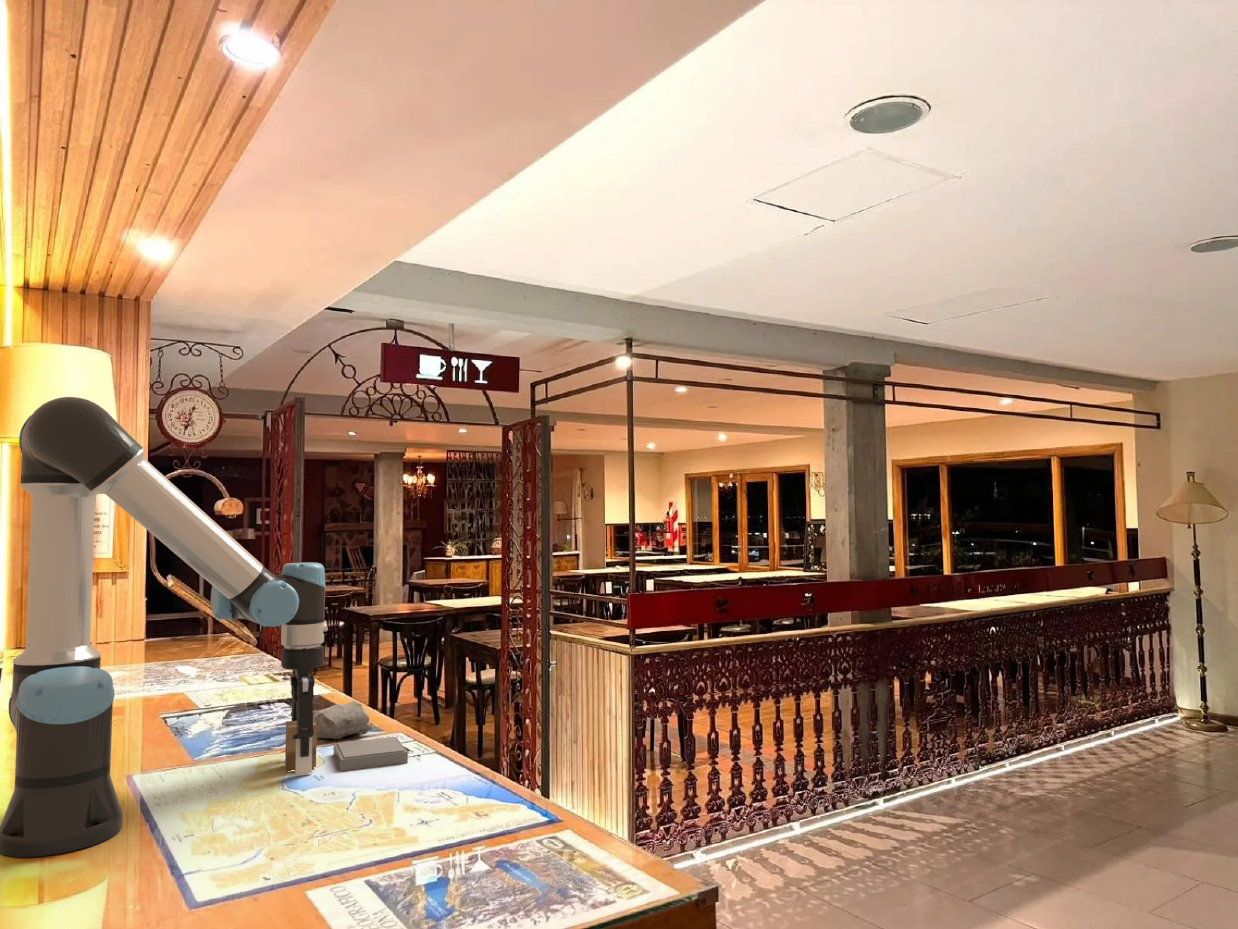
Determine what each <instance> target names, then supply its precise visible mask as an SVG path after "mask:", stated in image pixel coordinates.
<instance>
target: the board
mask: <svg viewBox="0 0 1238 929" xmlns="http://www.w3.org/2000/svg"><path fill="white" fill-rule="evenodd" d="M408 754H409V753H408V751H407V749H406V747H405V746H404V745H403V744H402V742H401V741H400V740H399V739H398V737H397V736H390V737H380V738H370V739H362V740H353V741H352V740H350V741H344V742H343V741H342V742H337V743H333V756H334V758H336V759H335V761H336V760H337V761H336V763H337V762H338V763H337V765H338V764H339V766H338V768H339V767H340V768H339V770H340V769H341V770H346V771H352V770H353V769H354V770H360V768H362V769H368V768H367V767H370V768H378V767H385V766H393V765H401V764H408V763H409V762H408V760H409V759H408V758H409V755H408ZM341 770H340V771H341ZM354 770H353V771H354Z"/></svg>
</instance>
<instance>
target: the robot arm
mask: <svg viewBox="0 0 1238 929" xmlns="http://www.w3.org/2000/svg"><path fill="white" fill-rule="evenodd" d="M18 440H19V441H18V445H19V449H20V453H21V454H20V458H21V460H20V462H21V463H20V482H19V484H20V487H21V488H22V489H23V490H24V491H26V492H27V493H28V494H29V495H30V497H31V502H30V503H31V508H30V526H29V527H30V530H29V531H30V532H29V533H30V534H29V554H28V556H29V560H28V579H27V580H28V584H27V604H26V605H27V610H26V635H25V636H26V637H25V648H24V650H23V651H22V653H20V654H19V655H18V656H16V658H14V659H13V661H12V662H13V666H12V667H13V668H12V690H11V692H10V697H9V700H8V715H9V716H8V717H9V719H10V722H11V723H12V724H11V725H12V726H13V727H14V729H15V732H16V733H15V734H16V737H15V738H16V741H15V742H16V745H15V747H16V748H15V771H14V772H15V773H14V775H15V776H14V787H13V789H14V790H13V793H12V794H11V795H12V796H11V797H10V801H9V803H8V804H7V805H8V806H7V807H6V810H5V813H4V815H3V817H2V820H1V822H0V854H2V855H3V856H8V857H14V858H33V857H35V858H36V857H44V856H53V855H59V854H64V853H69V852H73V851H78V850H81V849H85V848H88V847H91V846H94V845H97V844H100V843H102V842H105V841H106V840H109V839H111V838H113V837H114V836H116V835H117V834H118V833H119V832H120V831H121V830H122V828H123V809H122V807H121V804H120V800H119V797H118V795H117V792H116V788H115V786H114V783H113V780H112V777H111V776H112V775H111V763H112V762H111V761H112V734H113V733H112V731H113V726H112V725H113V703H114V698H115V694H116V693H115V688H114V681H113V680H114V679H113V677H112V675H111V674H110V673H109V672H108V671H106V670H105V669H101V660H102V659H101V658H102V657H101V656H102V655H101V653H102V652H100V651H98V650H97V649H96V648H95V647H94V646H93V645H92V644H91V635H92V634H91V632H92V631H91V630H92V628H91V627H92V605H93V604H92V603H93V602H92V600H93V598H92V597H93V571H94V543H95V542H94V541H95V537H94V536H95V518H96V517H95V512H96V511H95V510H96V497H97V495H98V494H100V493H103V494H104V495H106V496H107V497H108V498H109V499H111V500H112V501H113V502H114V503H115V504H116V505H118V506H119V508H121V509H122V510H123V511H124V512H126V513H127V514H128V515H129V516H130V517H131V518H133V519H134V520H135V521H136V522H137V523H139V524H140V526H142V527H144V529H146V531H148V532H149V533H150V534H152V536H154V537H155V538H156V539H157V540H159V541H160V542H161V543H162V544H163V545H164V546H166V547H167V548H168V549H169V550H170V551H171V552H173V554H175V555H176V556H177V557H178V558H180V559H181V560H182V561H183V562H184V563H185V564H187V566H189V567H190V568H191V569H193V570H194V571H195V572H196V573H197V574H198V575H199V576H201V577H202V578H203V579H204V580H205V581H207V582H208V583H209V584H210V585H211V591H210V593H211V594H210V607H211V608H210V609H211V612H212V616H213V617H214V618H215V620H216V619H217V620H219V621H220V620H229V621H234V620H240V619H241V620H243V619H244V620H247V621H250V622H253V623H256V624H258V625H259V626H261V627H266V628H267V627H281V629H280V630H281V633H280V634H281V636H280V645H282V646H284V647H282V649H281V651H280V652H281V653H280V654H281V655H280V661H281V662H280V666H281V668H282V669H284V670H291V673H292V676H290V686H291V690H290V694H291V712H290V716H291V721H297V734H295V735H293V739H296V768H295V774H294V775H295V776H303V774H305V775H309V774H308V773H313V769H312V736H313V734H314V731H313V711H314V704H313V703H314V701H313V700H314V696H315V695H314V687H315V685H316V684H315V680H316V679H315V677H314V675H313V674H311V670H312V669H317V668H320V667H322V666H323V665H324V663H325V647H324V645H322V644H323V643H324V642H325V633H324V632H328V630H329V629H328V626H327V625H325V608H326V607H325V605H326V604H325V603H326V588H327V586H326V572H325V567H324V565H323V564H322V563H319V562H291V563H290V562H289V563H285V564H284V565H283V566H282V571H281V573H280V574H279V573H277V574H273V573H272V572H271V571H270V570H269V569H268V568H266V567H265V566H264V565H263V564H262V563H261V561H259V560H258V559H257V558H255V557H254V556H253V555H252V554H251V553H250V552H249V551H248V550H247V549H245V547H243V546H242V545H241V544H240V543H239V542H238V541H237V540H235V539H234V538H233V537H232V536H231V535H230V534H229V533H227V531H226V530H225V529H223V527H221V526H220V525H219V524H218V523H217V522H216V521H215V520H213V519H212V518H211V517H210V516H209V515H208V514H207V513H206V512H204V511H203V510H202V509H201V508H200V507H199V506H198V505H197V504H196V503H195V502H193V501H192V500H191V499H190V498H189V497H188V496H187V495H186V494H185V493H183V491H182V490H180V489H179V488H178V487H177V486H176V485H175V484H174V483H172V482H171V481H170V480H169V479H168V478H167V477H166V476H165V475H164V474H163V473H161V472H160V471H159V470H158V469H157V468H156V467H154V465H153V464H151V462H150V461H148V460H147V459H146V457H145V448H144V447H143V446H142V445H141V443H140V444H139V442H137V441H136V440H135V438H133V437H132V436H131V435H130V433H128V432H127V430H125V429H124V428H123V427H122V426H121V425H120V423H118V422H117V421H116V419H115V418H114V417H113V416H112V415H111V414H110V413H109V412H108V411H106V409H104V408H103V407H101V405H99V404H98V403H95V402H94V401H91V400H89V399H86V398H81V397H77V396H64V397H63V396H62V397H57V398H53V399H51V400H49V401H47V402H45V403H42V405H40V406H39V407H38V408H36V410H34V411H33V413H32V414H31V415H29V417H27V419H26V420H25V421H24V423H23V425H22V426H21V429H20V432H19V437H18ZM306 728H307V729H308V730H302V729H306Z"/></svg>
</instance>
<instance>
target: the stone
mask: <svg viewBox="0 0 1238 929" xmlns="http://www.w3.org/2000/svg"><path fill="white" fill-rule="evenodd" d="M368 714H369V712H368V711H367V710H364V709H363V704H362V703H360V702H357V701H355V700H352V701H349V702H348V703H342V704H341V703H337V704H333V705H332V706H329V707H327V708H324V709H319V710H313V719H315V722H316V724H317V738H318V739H332V740H336V739H339V740H342V739H344V738H345V737H347V736H350V735H364V734H366V733H367V732H369V731H372V730H373V728H374V727H373V725H371V723H370V717H369V716H368ZM343 737H344V738H343ZM341 738H342V739H341Z"/></svg>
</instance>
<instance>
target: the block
mask: <svg viewBox="0 0 1238 929" xmlns="http://www.w3.org/2000/svg"><path fill="white" fill-rule="evenodd" d="M302 730H308V729H307V728H306V729H302ZM313 731H314V734H313V736H312V768H314V767H316V768H317V740H318V739H317V738H318V737H317V724H316V722H315V719H313ZM295 734H297V721H292V720H291V721H285V752H284V754H285V755H284V757H285V758H284V766H285V770H287V771H286V773H289V772H288V771H291V770H295V768H296V739H293V735H295Z"/></svg>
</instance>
